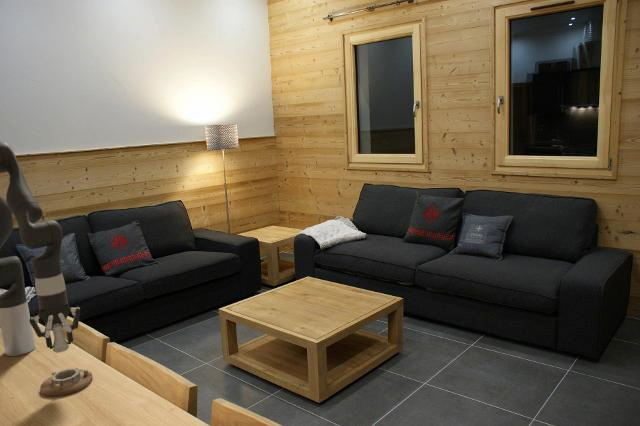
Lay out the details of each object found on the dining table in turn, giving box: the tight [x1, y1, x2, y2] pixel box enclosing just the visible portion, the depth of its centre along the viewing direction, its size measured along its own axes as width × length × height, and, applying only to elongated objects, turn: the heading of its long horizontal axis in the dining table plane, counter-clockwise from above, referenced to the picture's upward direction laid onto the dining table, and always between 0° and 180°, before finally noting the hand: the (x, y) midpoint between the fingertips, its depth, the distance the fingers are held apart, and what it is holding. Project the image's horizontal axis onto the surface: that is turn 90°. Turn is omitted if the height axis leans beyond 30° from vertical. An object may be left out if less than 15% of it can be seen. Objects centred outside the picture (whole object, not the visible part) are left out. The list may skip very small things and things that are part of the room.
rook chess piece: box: [51, 323, 70, 354], centre depth 158 cm, size 4×4×8 cm
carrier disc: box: [39, 367, 93, 398], centre depth 160 cm, size 14×14×3 cm
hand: (60, 345), depth 158 cm, fingers closed on rook chess piece, 4 cm apart
